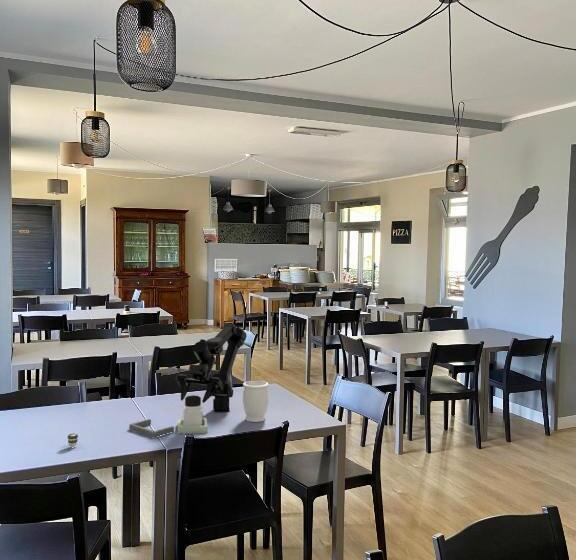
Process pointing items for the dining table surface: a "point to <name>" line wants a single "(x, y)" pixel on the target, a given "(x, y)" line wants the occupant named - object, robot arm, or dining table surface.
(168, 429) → the holder
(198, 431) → the tray
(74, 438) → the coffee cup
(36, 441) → the dining table surface
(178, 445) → the dining table surface
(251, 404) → the jar
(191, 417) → the medicine bottle
